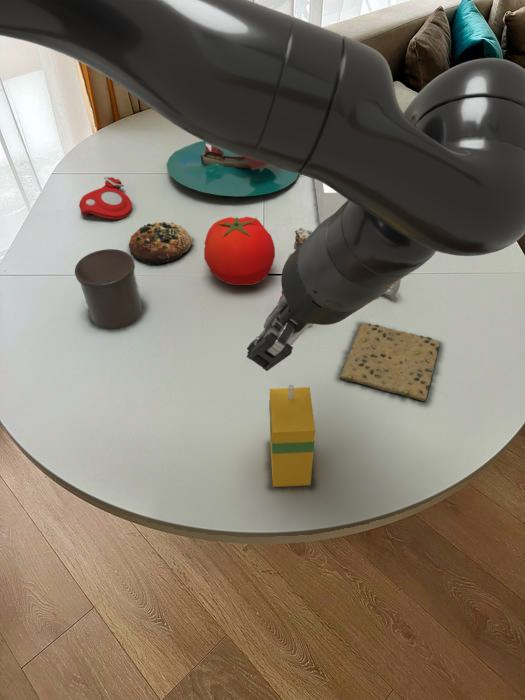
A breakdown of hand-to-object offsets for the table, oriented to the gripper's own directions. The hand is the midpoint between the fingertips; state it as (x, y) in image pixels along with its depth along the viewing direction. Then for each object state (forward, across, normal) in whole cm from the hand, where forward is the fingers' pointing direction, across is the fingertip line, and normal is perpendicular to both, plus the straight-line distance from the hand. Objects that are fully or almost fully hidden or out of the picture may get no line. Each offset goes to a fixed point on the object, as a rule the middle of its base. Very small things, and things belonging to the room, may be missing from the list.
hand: (275, 321), depth 62 cm
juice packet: (+10, +10, +12) cm, 19 cm away
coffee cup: (+32, 0, -18) cm, 37 cm away
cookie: (+13, -12, +19) cm, 26 cm away
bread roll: (+39, -17, -19) cm, 47 cm away
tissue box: (+35, -48, +5) cm, 59 cm away
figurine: (+23, -14, +5) cm, 27 cm away
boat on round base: (+48, -45, -18) cm, 68 cm away
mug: (+21, -25, +14) cm, 36 cm away
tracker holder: (+49, -23, -33) cm, 64 cm away
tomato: (+30, -17, -5) cm, 35 cm away
